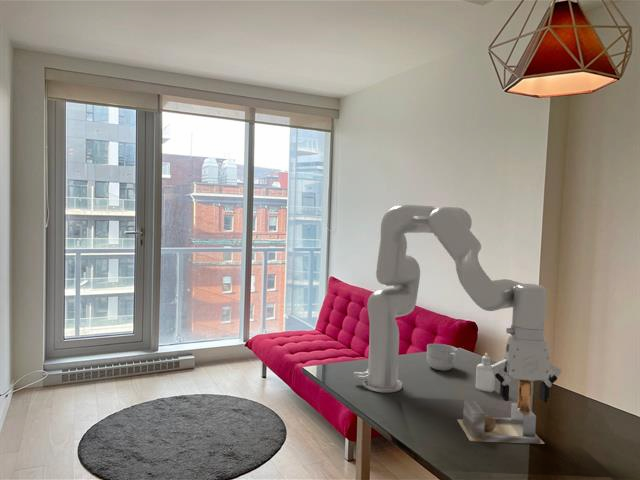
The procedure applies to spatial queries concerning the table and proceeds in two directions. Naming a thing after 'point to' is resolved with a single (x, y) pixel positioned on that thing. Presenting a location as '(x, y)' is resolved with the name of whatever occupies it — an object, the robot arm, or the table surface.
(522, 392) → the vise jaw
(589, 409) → the table surface
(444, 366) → the teacup
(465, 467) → the table surface
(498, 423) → the board
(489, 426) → the walnut
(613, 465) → the table surface
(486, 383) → the eye dropper bottle
